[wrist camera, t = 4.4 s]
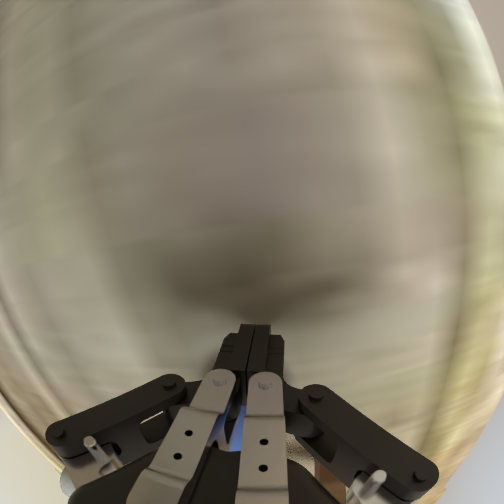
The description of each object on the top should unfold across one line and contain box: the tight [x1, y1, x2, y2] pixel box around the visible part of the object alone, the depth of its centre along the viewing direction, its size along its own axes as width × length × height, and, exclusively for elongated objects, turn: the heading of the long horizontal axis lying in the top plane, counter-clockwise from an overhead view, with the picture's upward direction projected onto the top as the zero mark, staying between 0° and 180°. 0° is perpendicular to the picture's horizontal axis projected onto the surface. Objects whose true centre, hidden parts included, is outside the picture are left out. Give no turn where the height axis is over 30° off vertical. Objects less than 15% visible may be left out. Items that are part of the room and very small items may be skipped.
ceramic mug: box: [60, 467, 76, 497], centre depth 28 cm, size 11×8×8 cm
